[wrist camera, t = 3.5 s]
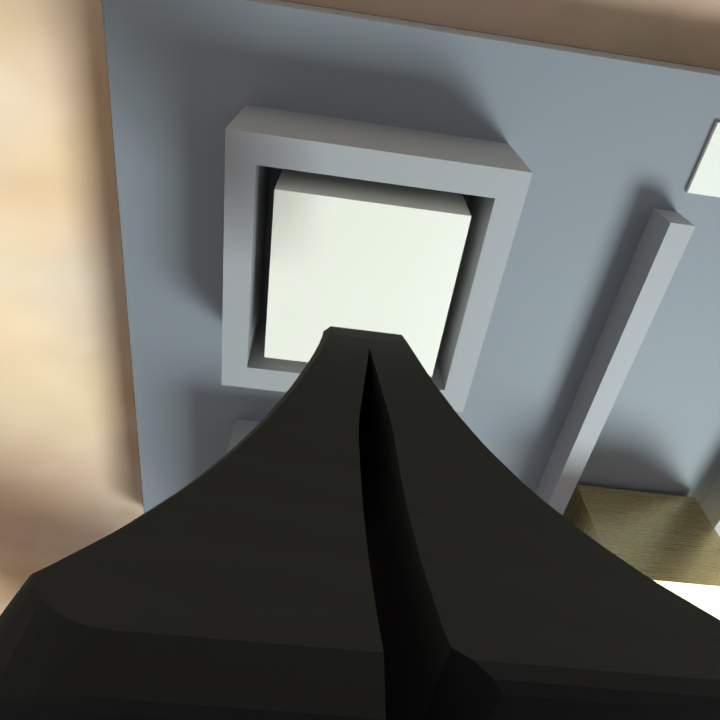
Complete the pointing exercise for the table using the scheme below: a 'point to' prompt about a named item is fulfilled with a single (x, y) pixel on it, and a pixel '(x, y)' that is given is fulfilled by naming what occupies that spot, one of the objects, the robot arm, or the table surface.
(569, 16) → the table surface
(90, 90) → the table surface
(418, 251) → the cream button
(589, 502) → the slider knob
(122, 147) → the panel
